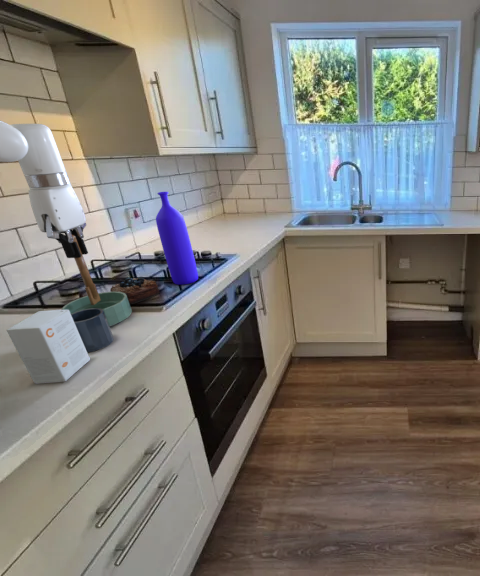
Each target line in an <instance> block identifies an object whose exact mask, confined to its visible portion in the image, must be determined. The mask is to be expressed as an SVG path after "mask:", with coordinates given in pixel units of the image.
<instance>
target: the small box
mask: <svg viewBox="0 0 480 576" xmlns="http://www.w3.org/2000/svg"><path fill="white" fill-rule="evenodd" d="M6 332H7V334H8V337H9V338H10V340H11V342H12V344H13V346H14V348H15V349H16V351H17V353H18V355H19V357H20V359H21V361H22V363H23V365H24V367H25V369H26V371H27V372H28V374H29V376H30V378H31V380H32V382H33V383H34V384H35V385H36V384H37V385H38V384H53V383H65V382H67V381H68V380H69V379H70V378H71V377H72V376H74V375H75V374H76V372H78V371H79V370H81V369H82V367H84V366H85V365H86V364H87V363H88V362H90V360H91V358H90V356H89V352H87V351H86V349H85V346H84V344H83V342H82V339H81V337H80V335H79V332H78V330H77V328H76V325H75V323H74V321H73V318H72V316H71V314H70V311H69V310H61V309H49V310H38V311H37V312H35V313H33V314H31V315H30V316H28V317H26V318H24V319H23V320H21V321H20V322H18V323H16V324H14V325H12V326H10V327H9V328H7V329H6Z"/></svg>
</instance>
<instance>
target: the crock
mask: <svg viewBox="0 0 480 576" xmlns="http://www.w3.org/2000/svg"><path fill="white" fill-rule="evenodd" d="M71 316H72V318H73V321H74V323H75V325H76V328H77V330H78V332H79V335H80V337H81V339H82V342H83V344H84V346H85V349H86V351H87V353H92V352H96V351H99V350H102V349H104V348H106V347H108V346H110V345H111V344H113V342H114V341H115V338H114V335H113V332H112V330H111V326H109V324H108V321H107V319H106V316H105V313H104V311H103V310H102V309H100V308H91V309H85V310H81V311H78V312H75V313H73V314H71Z"/></svg>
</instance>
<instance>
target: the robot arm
mask: <svg viewBox="0 0 480 576" xmlns="http://www.w3.org/2000/svg"><path fill="white" fill-rule="evenodd" d="M0 162H1V163H13V162H18V165H19V166H20V168H21V171H22V174H23V176H24V179H25V181H26V183H27V186H28V188H29V190H28V198H29V202H30V206H31V210H32V213H33V216H34V219H35V222H36V225H37V226H38V230H40V232H42V233H46V237H47V238H48V239H53V240H56V241H57V242H58V243H59V244H60V245H61V247H62V249H63V251H64V254H65V257H66V258H67V259H74V258H80V257H81V253H80V250H81V252H82V255H88V254H89V251H88V248H87V246H86V243H85V241H84V237H85V236H84V229H85V228H86V227H87V223H86V221H87V219H86V215H85V211H84V209H83V206H82V204H81V202H80V199H79V197H78V196H77V193H76V191H75V190H74V188H73V186H72V183H71V180H70V178H69V175H68V172H67V169H66V167H65V165H64V161H63V159H62V156H61V153H60V151H59V148H58V146H57V142H56V140H55V137H54V135H53V132H52V130H51V129H50V127H49V126H47V125H45V124H42V123H12V124H9V123H8V122H5V121H2V120H0ZM71 234H72V235H74V236H75V237H76V239H77V242H78V245H79V247H80V250H79V248H78V245H77V243H76V242H73V241H74V240H73V238H72V235H71Z"/></svg>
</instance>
